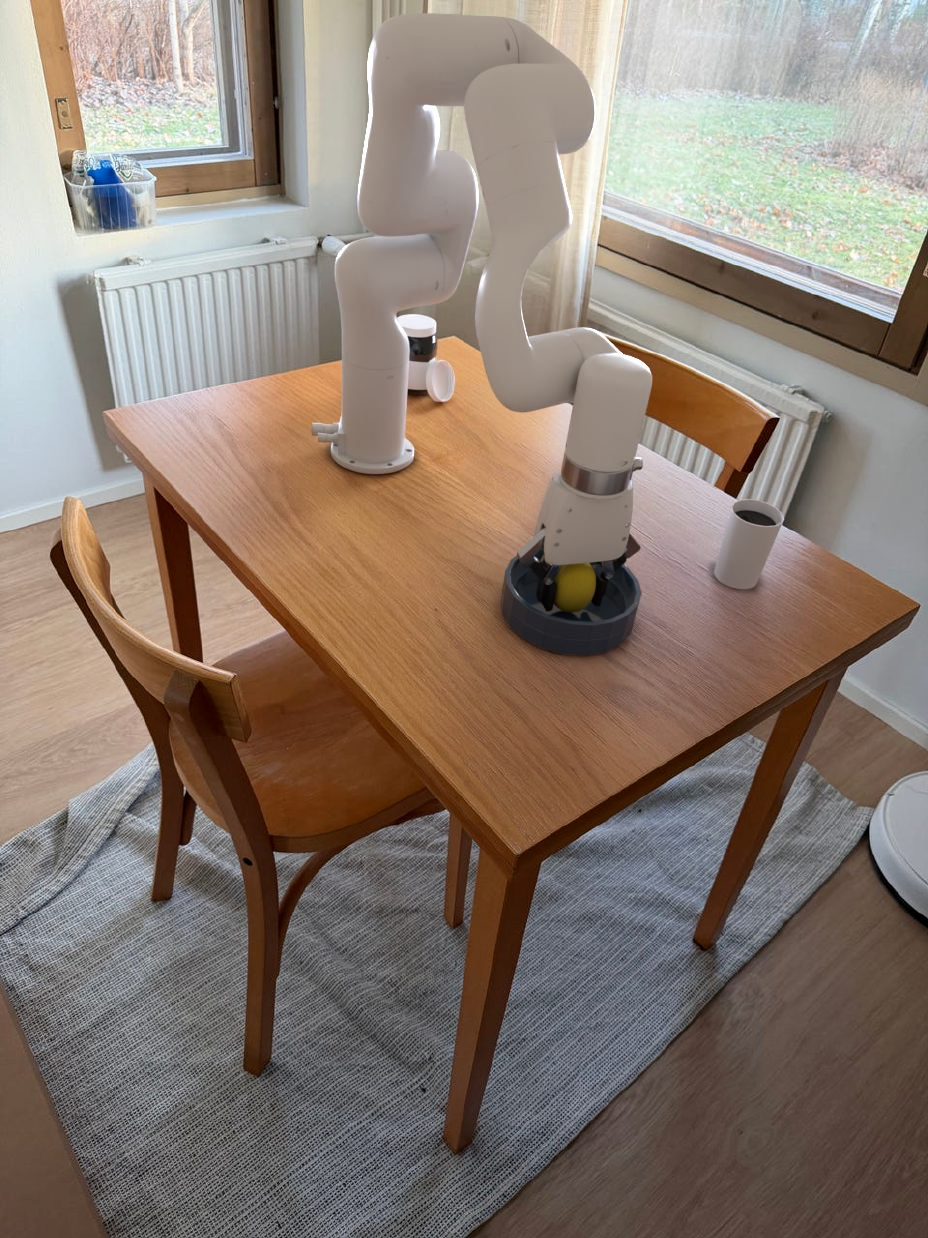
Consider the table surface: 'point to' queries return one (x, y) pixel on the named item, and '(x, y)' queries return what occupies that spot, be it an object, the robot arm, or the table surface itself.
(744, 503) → the white coffee cup
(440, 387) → the spread jar
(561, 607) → the lemon
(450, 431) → the table surface
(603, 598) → the bowl
